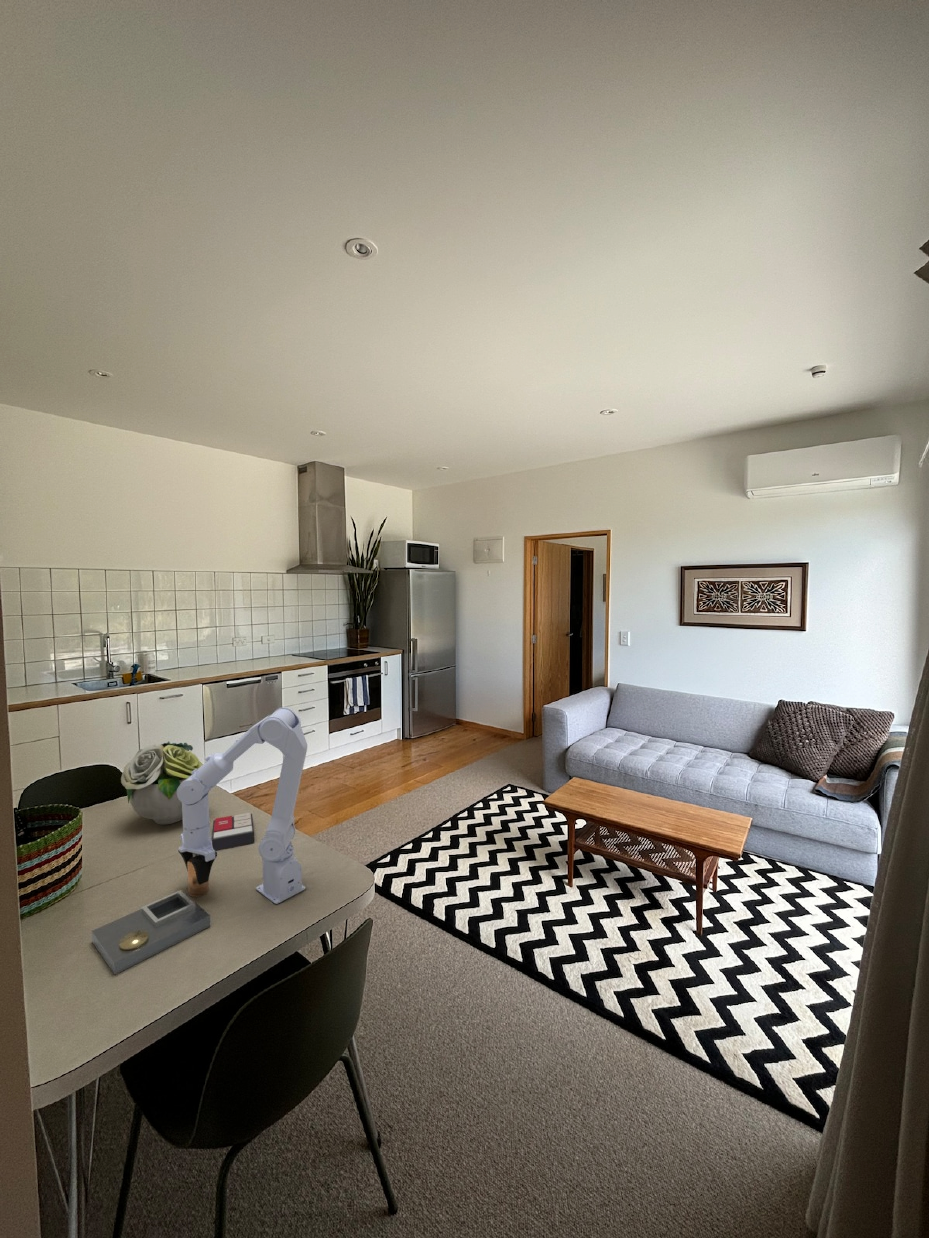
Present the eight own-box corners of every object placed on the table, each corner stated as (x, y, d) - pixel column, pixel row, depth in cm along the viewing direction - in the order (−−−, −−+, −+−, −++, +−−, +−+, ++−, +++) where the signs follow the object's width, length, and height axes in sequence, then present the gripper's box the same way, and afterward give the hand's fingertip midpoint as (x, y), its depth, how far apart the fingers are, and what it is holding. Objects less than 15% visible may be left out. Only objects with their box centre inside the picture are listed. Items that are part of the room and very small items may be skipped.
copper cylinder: (212, 890, 125) (211, 852, 124) (193, 899, 121) (191, 860, 121) (204, 883, 128) (203, 846, 127) (185, 891, 124) (183, 853, 123)
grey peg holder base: (210, 926, 112) (209, 910, 112) (114, 974, 98) (113, 957, 98) (183, 900, 121) (182, 886, 120) (92, 942, 107) (91, 926, 107)
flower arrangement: (103, 835, 151) (98, 755, 150) (163, 800, 176) (160, 730, 174) (179, 841, 148) (176, 759, 146) (230, 804, 173) (228, 733, 171)
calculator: (252, 810, 161) (254, 829, 147) (252, 824, 161) (254, 843, 147) (213, 817, 156) (211, 837, 143) (213, 831, 156) (212, 852, 143)
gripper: (166, 821, 125) (168, 874, 126) (192, 840, 116) (194, 898, 117) (196, 811, 130) (198, 862, 131) (223, 829, 121) (225, 883, 122)
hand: (198, 878), depth 124 cm, fingers closed on copper cylinder, 4 cm apart
